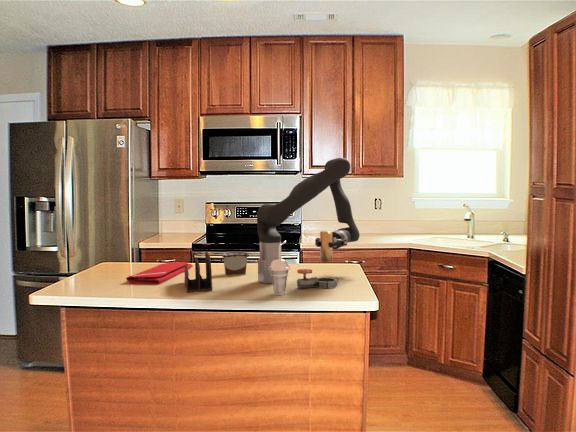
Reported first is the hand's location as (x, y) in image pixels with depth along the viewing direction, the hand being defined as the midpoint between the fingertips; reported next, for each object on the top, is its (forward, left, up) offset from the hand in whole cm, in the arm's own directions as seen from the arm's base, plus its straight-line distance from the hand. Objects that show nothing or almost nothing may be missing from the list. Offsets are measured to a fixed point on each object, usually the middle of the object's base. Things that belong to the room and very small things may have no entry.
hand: (324, 244), depth 203 cm
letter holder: (-46, +24, -18) cm, 55 cm away
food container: (-23, +43, -18) cm, 52 cm away
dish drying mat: (-54, +56, -18) cm, 79 cm away
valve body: (-2, +2, -17) cm, 18 cm away
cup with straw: (-21, -2, -18) cm, 28 cm away
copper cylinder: (+2, +2, -7) cm, 7 cm away
